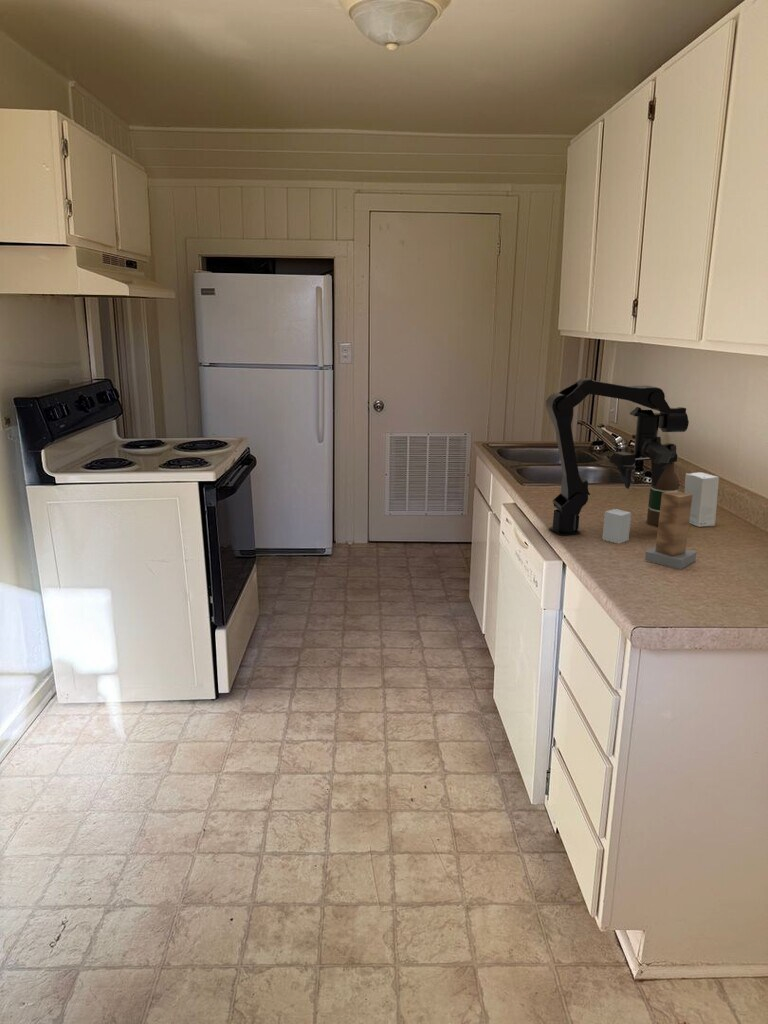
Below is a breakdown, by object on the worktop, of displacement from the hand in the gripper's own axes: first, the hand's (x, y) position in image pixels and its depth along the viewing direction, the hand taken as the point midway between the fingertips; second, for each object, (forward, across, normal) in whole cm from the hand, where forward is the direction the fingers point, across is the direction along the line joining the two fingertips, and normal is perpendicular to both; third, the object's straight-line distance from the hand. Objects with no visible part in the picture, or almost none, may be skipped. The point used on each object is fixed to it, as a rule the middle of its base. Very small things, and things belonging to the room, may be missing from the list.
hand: (640, 487), depth 199 cm
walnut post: (+10, -9, -24) cm, 28 cm away
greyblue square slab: (+14, -9, -24) cm, 29 cm away
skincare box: (+13, +23, +1) cm, 27 cm away
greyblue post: (+13, -11, -5) cm, 18 cm away
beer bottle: (+13, +12, +4) cm, 18 cm away
